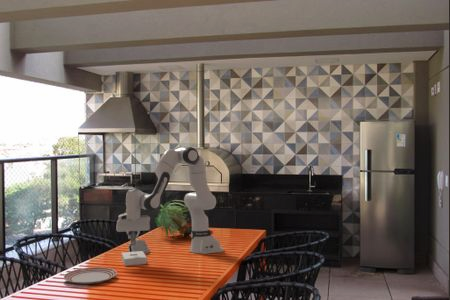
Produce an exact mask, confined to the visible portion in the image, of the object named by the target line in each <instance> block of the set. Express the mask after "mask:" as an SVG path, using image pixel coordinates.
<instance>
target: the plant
mask: <svg viewBox="0 0 450 300" xmlns="http://www.w3.org/2000/svg"><path fill="white" fill-rule="evenodd" d="M175 201H176V202H175ZM181 202H182V203H184V200H180V199H179V200H178V199H174V200H172V203H171V202H170V201H168V202H166V203H165V204H164V205H163V204H161V206H160V210H159V212H158V214H157V215H158V216H157V217H155V218H154V220H155V221H154V223H155V224H156V226H157V227H158V229H159V228H160V229H161V231H162V232H164V233H165V238H167V237H168V236H169V235H173V237H176V235H177V234H179V235H180V236H182V237H183V238H185V239H186V238H188V237H190V236H191V230H192V221H190V218H188V219H187V216H188V214H184V213H185V212H190V211H189V209H188V207H187V206H186V205H185V204H182V203H181ZM177 205H180V207H179V206H177ZM185 218H186V219H185ZM187 221H188V222H187Z"/></svg>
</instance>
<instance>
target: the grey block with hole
mask: <svg viewBox="0 0 450 300" xmlns="http://www.w3.org/2000/svg"><path fill="white" fill-rule="evenodd" d="M147 257H148V256H146V254H144V253H143V251H137V252H129V251H125V252H121V260H122V263H123V266H125V267H126V266H136V265H137V266H138V265H147V261H148V260H147Z"/></svg>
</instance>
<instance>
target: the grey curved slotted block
mask: <svg viewBox="0 0 450 300" xmlns="http://www.w3.org/2000/svg"><path fill="white" fill-rule="evenodd" d="M127 250H128V252H137V251H143V253H144V254H145V255H146V254H149V253H151V249H150V248H149V247H148V245H147V242H146V240H144V239H138V240H137V239H136V245H131V243H130V244H128V246H127Z"/></svg>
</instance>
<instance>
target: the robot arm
mask: <svg viewBox="0 0 450 300" xmlns="http://www.w3.org/2000/svg"><path fill="white" fill-rule="evenodd" d="M199 154H200V153H199V152H198V149H196V148H195V147H192V146H177V147H175V148H174V149H172V148H168V149H167V150H165V151H164V153H163V154H162V155H161V157H160V158H159V160H158V162H157V164H156V166H155V170H154V173H155V175H156V177H157V183H155V184H156V185H155V186H154V189H153V191H152V193H150V194H149V193H147V192H143V191H142V190H140V189H139V188H133V189H129V190H127V191H126V194H125V195H126V196H125V206H126V207H125V208H126V209H125V212H124V213H121V214H118V216H117V217H118V219H117V221H116V228H115V230H116V231H117V232H118V233H121V232H126V234H127V236H128V240H131V234H130V232H131V231H136V232H137V233H136V239H139V235H140V233H141V231H150V229H151V224H150V222H151V217H150V216H149V215H147V214H146V215H144V214H143V215H141V211H142V209H143V210H147V211H148V212H151V213H154V212H157V211H159V210H160V209H161V205H162V199H163V195H164V193H165V191H166V189H167V187H168V185H169V182H170V179H171V176H172V174H173V173H174V170H175V169H176V167H177V165H178V164H183V165H185V164H186V165H187V167H188V173H189V174H188V177H189V185H190V186H191V187H192V188H193V189H194V191H193V192H188V193H186V194H185V195H184V198H183V201H184V202H183V204H184V205H186V206H187V209H188V210H189V211H188V212H189V215H190V219H191V225H192V230H191V235H190V238H191V243H190V248H189V252H190V253H192V254H193V253H194V254H201V255H207V254H214V253H221V252H225V250H224V248H223V247H221V244H220V241H219V240H218V239H217V238H216V237H214V236H213V234H214V231H213V230H210V229H209V217H208V215H207V214H205V211H208V210H213V209H214V208H215V207H216V205H217V199H216V196H215V195H214V194H213V193H212V191H211V190H210V188H209V185H208V180H207V171H206V165H205V161H204V158H203V156H201V155H199Z"/></svg>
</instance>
